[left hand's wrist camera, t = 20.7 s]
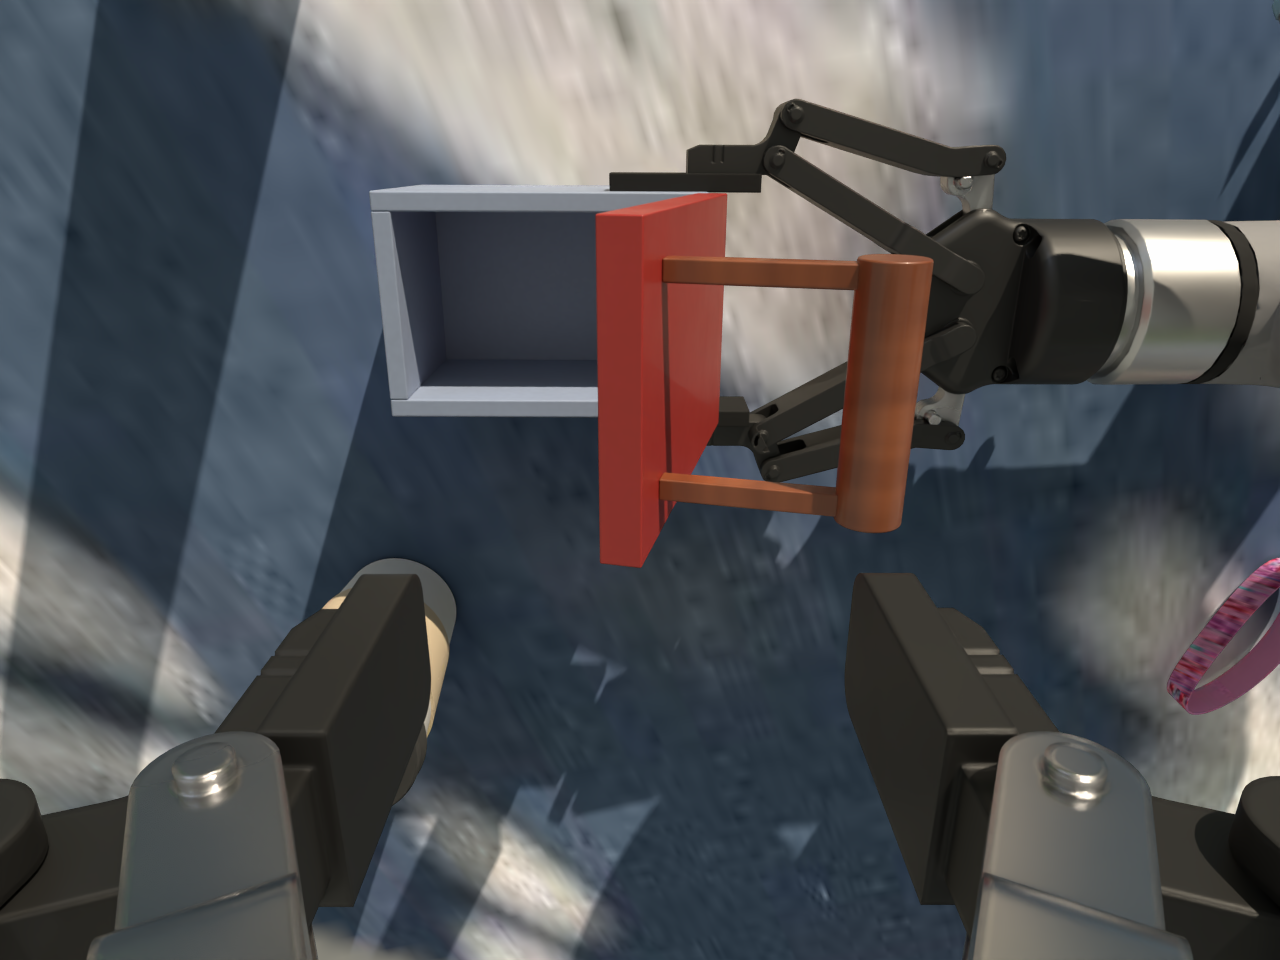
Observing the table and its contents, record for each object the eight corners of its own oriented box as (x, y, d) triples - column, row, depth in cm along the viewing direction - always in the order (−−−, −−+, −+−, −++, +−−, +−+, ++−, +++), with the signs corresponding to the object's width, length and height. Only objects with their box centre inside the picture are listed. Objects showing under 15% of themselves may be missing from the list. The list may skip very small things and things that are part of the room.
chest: (436, 370, 47) (391, 416, 39) (421, 184, 44) (368, 190, 35) (691, 371, 48) (703, 418, 39) (696, 186, 44) (710, 192, 35)
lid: (599, 563, 25) (900, 598, 23) (594, 213, 21) (949, 220, 19) (690, 421, 38) (884, 435, 37) (697, 193, 35) (911, 196, 33)
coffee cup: (417, 693, 55) (340, 877, 41) (299, 612, 53) (176, 776, 39) (503, 602, 52) (453, 763, 38) (384, 513, 50) (285, 649, 36)
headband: (1204, 708, 55) (1225, 730, 53) (1154, 686, 55) (1174, 707, 53) (1318, 574, 52) (1345, 591, 50) (1265, 549, 51) (1290, 565, 49)
